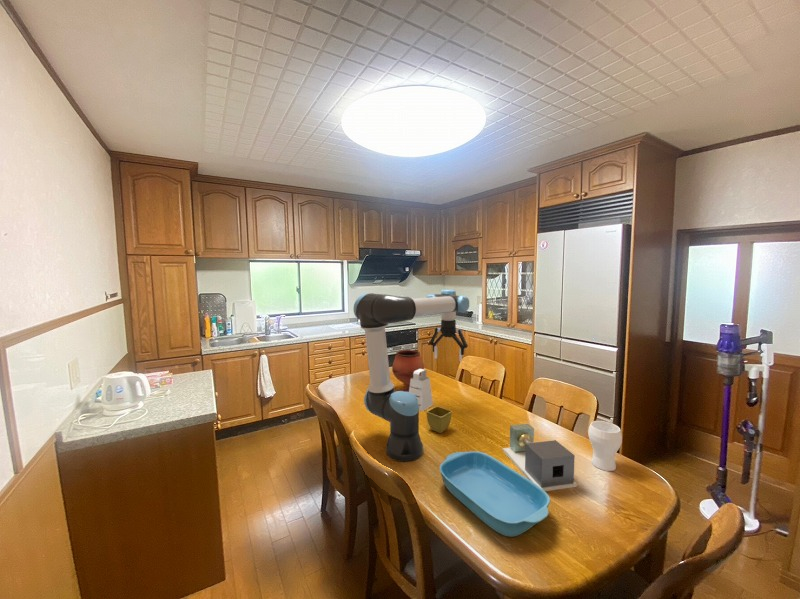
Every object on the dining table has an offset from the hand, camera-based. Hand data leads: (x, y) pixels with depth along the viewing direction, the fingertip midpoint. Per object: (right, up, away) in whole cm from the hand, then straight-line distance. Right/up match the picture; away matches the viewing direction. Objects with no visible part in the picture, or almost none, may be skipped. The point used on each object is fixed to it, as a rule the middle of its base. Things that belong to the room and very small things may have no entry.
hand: (448, 359), depth 170 cm
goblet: (-20, -25, +28) cm, 43 cm away
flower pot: (-7, -29, -20) cm, 36 cm away
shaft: (+25, -29, -46) cm, 60 cm away
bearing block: (+27, -31, -56) cm, 70 cm away
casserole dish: (+4, -33, -66) cm, 74 cm away
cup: (+51, -31, -48) cm, 77 cm away
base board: (+26, -31, -49) cm, 64 cm away
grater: (-14, -27, +7) cm, 31 cm away
